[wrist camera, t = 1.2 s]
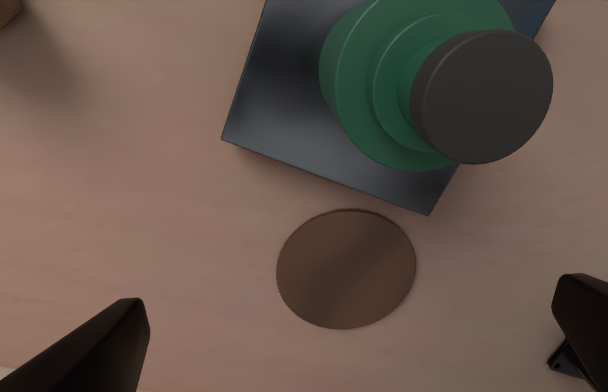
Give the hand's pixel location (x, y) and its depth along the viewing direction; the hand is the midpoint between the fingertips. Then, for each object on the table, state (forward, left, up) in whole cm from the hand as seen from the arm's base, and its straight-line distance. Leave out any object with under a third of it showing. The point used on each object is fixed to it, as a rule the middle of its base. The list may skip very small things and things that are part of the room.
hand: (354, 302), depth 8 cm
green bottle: (-1, -5, -12) cm, 13 cm away
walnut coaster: (-5, +7, -14) cm, 16 cm away
